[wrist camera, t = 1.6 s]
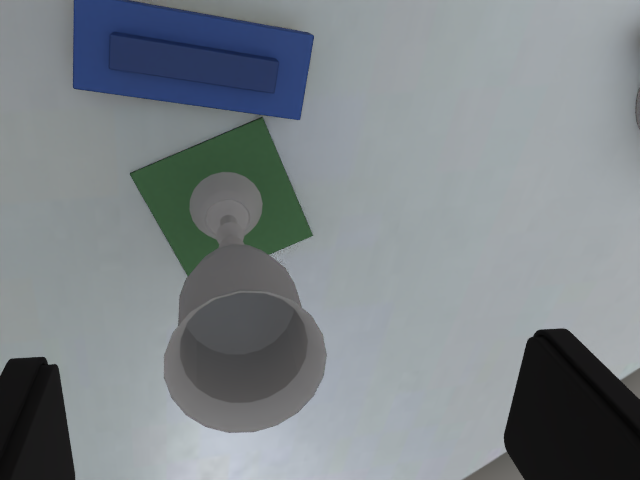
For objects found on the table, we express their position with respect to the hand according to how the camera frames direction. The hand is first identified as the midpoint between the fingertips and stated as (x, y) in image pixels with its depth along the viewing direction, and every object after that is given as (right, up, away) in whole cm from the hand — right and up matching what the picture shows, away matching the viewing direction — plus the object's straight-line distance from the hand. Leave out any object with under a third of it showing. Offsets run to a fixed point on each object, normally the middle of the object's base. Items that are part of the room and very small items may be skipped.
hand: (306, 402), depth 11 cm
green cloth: (-6, +6, +29) cm, 30 cm away
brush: (-7, +15, +24) cm, 29 cm away
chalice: (-6, +6, +29) cm, 30 cm away
